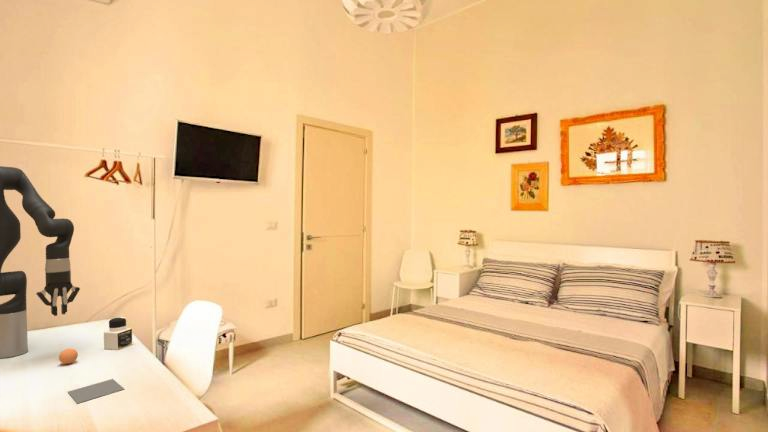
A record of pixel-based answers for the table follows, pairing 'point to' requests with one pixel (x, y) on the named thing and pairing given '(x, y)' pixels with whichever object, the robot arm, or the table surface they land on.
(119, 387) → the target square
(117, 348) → the medicine bottle
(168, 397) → the table surface
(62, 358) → the ball
